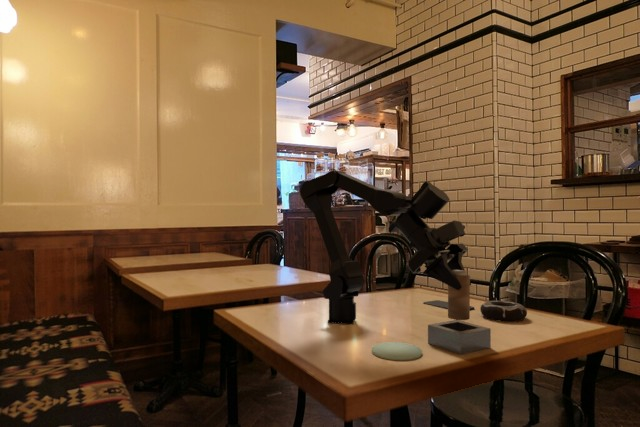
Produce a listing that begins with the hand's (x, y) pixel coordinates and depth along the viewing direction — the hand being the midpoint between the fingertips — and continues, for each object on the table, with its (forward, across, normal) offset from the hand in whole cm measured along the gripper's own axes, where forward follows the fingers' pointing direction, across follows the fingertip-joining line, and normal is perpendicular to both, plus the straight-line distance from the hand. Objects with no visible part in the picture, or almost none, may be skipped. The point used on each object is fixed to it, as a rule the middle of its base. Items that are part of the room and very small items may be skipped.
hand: (465, 287), depth 91 cm
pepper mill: (+4, 0, +6) cm, 7 cm away
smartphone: (-6, +37, +24) cm, 45 cm away
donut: (+7, +33, +11) cm, 36 cm away
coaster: (+3, -13, +15) cm, 20 cm away
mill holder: (+8, 0, +10) cm, 13 cm away
